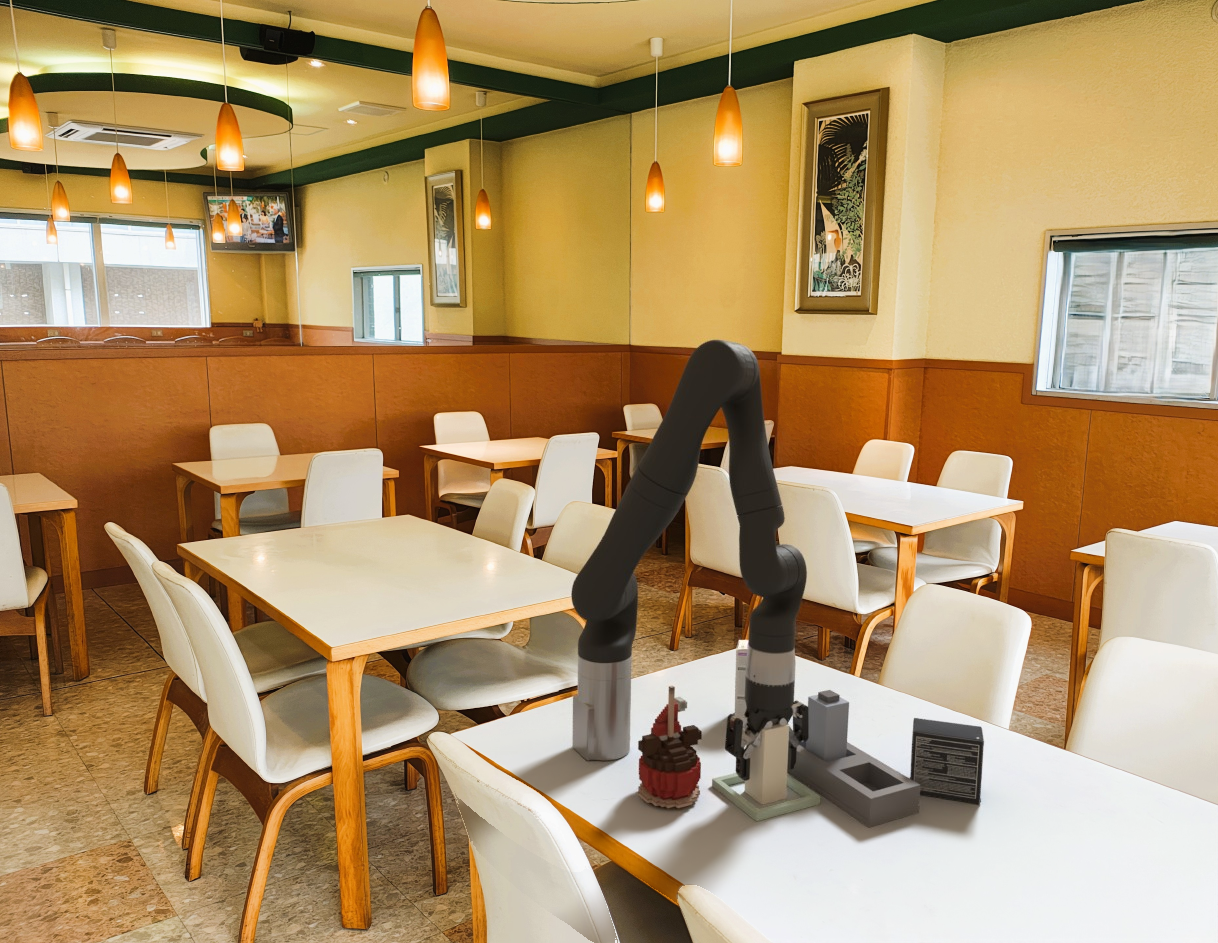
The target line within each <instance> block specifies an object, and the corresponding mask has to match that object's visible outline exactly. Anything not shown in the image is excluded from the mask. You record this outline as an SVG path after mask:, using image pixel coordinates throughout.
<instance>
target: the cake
mask: <svg viewBox="0 0 1218 943" xmlns="http://www.w3.org/2000/svg"><path fill="white" fill-rule="evenodd" d="M675 690H676V687H675V686H674V685H668V702H667V704H665V706H664V708H662V710H661V711H660V713H658V715H657V716H656V718H654V722H653V723H652V727H651V728H650V733H649V734H646V735H642V736H641V740H638V742H637V743H638V744H637V750H638V751H640V753H641V754H642V755H640V758H638V780H640V781H641V783H639V786H638V797H640V798H641V799H642V800H643V801H645V803H646V804H650V803H651V804H653V805H654V806H655V807H658V806H660V807H661V808H664V807H665V808H667V809H671V808H674V807H675V808H676V809H680V808H684V807H687V806H692V805H693V802H698V798H699V796H700V795H701V790H700V786H699V782H700V779H701V773H702V772H701V771H702V770H701V769H702V768H701V767H702V761H701V758H700V757H699V756H698V754H697V750H696V749H695V748H694V747H693V746H695V745H696V746H697V745H698V744H699V741H701V740H702V738H703V737H702V736H703V731H702V730H700V729H699V727H697V726H696V725H695V724H692V725H688V726H683V727H682V725H681V724H680V721H679V713H680V712H686V709H688V701H686V700H685V699H684V698H683V697H681V696H677V697H675V696H676V695H675V693H676V692H675Z"/></svg>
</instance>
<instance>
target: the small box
mask: <svg viewBox="0 0 1218 943" xmlns="http://www.w3.org/2000/svg"><path fill="white" fill-rule="evenodd" d="M984 746H985V740H984V733H983V727H982V726H978V725H971V724H963V723H956V722H955V723H954V722H949V721H948V722H947V721H940V720H933V719H925V718H919V717H914V718H913V724H912V737H911V756H910V772H909V773H910V774H909V775H910V776H909V777H910V779H911V780H913V781H915V782H916V783H918V784H920V796H925V797H932V798H937V799H938V798H939V799H943V800H944V799H945V800H951V801H958V802H963V803H969V804H974V805H975V804H976V805H980V804H981V802H982V798H981V793H982V792H981V790H982V779H983V778H982V777H983V762H984V761H983V760H984Z"/></svg>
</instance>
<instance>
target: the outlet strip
mask: <svg viewBox="0 0 1218 943" xmlns="http://www.w3.org/2000/svg"><path fill="white" fill-rule="evenodd" d="M787 773H788V774H789V775H791V776H792V777H793V778H794V777H795V779H796V780H797V779H798V781H799V782H801V783H802V784H804V785H806V786H807V787H809V789H811V790H812V791H815V793H818V795H820V796H822V797H824V798H825V799H827V800H828V801H829V802H831V803H833V804H834V805H835V806H837V807H838V808H840V809H841V810H843V811H844V812H846V813H847V814H848V815H850V816H851V817H852V818H854V819H856V820H857V821H859V822H860V823H862V824H863V825H864V826H866V827H867V828H871V827H875V826H878V825H882V824H886V823H888V822H892V821H896V820H898V819H902V818H905V817H909V816H911V815H915V814H918V813H919V812H920V797H921V795H920V784H918V783H916V782H915V781H913V780H911V779H910V778H909V777H908V776H907V775H904V774H902V773H901V772H900V771H898V770H896V769H894V768H893V767H891V766H889V765H887V764H886V763H884V762H882V761H880V760H878V759H877V758H875V757H873V756H872V755H870V754H868V753H867V752H865V751H863V750H861V749H860V748H858V747H857V746H855V745H853V744H851V743H849V742H848V741H847V751H846V757H844V758H840V759H836V760H832V761H828V762H826V761H824V760H822V759H821V758H819V757H818V756H816V755H815V754H813V753H811V752H810V751H808V750H807V749H806V741H802V742H800V743H799V745H798V747H797V755H796V764H795V765H794V769H791V770H788V769H787Z"/></svg>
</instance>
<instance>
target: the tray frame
mask: <svg viewBox="0 0 1218 943" xmlns="http://www.w3.org/2000/svg"><path fill="white" fill-rule="evenodd" d="M711 781H712V782H711V786H712V787H713V788H714V789H715V790H716V791H718V792H719V793H720V794H722V795H723V796H724V797H725V798H726V799H727V800H729V801H731V802H732V803H733V804H734V805H735V806H737V807H738V808H739V810H740V809H741V811H743V812H744V813H745V814H746V815H748V816H749V817H750V818H752V819H753V820H754V821H755V822H760V821H763V820H766V819H770V818H775V817H777V816H781V815H784V814H785V815H786V814H788V813H792V812H795V811H796V812H797V811H800V810H803V809H806V808H810V807H814V806H817V805H820V804H821V795H820V794H817V792H816V791H815V792H814V790H813V789H811V788H810V787H809V788H808V786H807V785H806V786H805V784H804V783H803V782H801V781H800V780H797V778H794V776H792V775H791V774H789V773H787V786H786V787H788V788H790V789H791V790H793V791H794V792H795V793H797V794H798V795H800V796H801V797H799V798H796V799H795V798H794V799H792V800H788V801H784V802H781V803H777V804H774V805H770V806H766V807H761V808H757V807H756V806H755V805H754V804H752V803H751V802H749V800H747V799H746V798H744V797H743V795H741V794H740V793H738V792H737V791H735V789H733V788H732V787H731V785H735V784H739V783H743V782H745V781H744V780H743V779H741V778H740V777H739V776H738V775H737V774H736V772H733V773H729V774H726V775H722V776H718V777H712V779H711Z"/></svg>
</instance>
